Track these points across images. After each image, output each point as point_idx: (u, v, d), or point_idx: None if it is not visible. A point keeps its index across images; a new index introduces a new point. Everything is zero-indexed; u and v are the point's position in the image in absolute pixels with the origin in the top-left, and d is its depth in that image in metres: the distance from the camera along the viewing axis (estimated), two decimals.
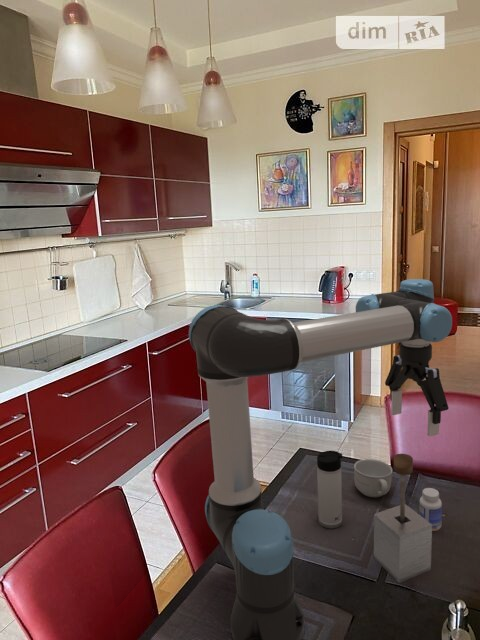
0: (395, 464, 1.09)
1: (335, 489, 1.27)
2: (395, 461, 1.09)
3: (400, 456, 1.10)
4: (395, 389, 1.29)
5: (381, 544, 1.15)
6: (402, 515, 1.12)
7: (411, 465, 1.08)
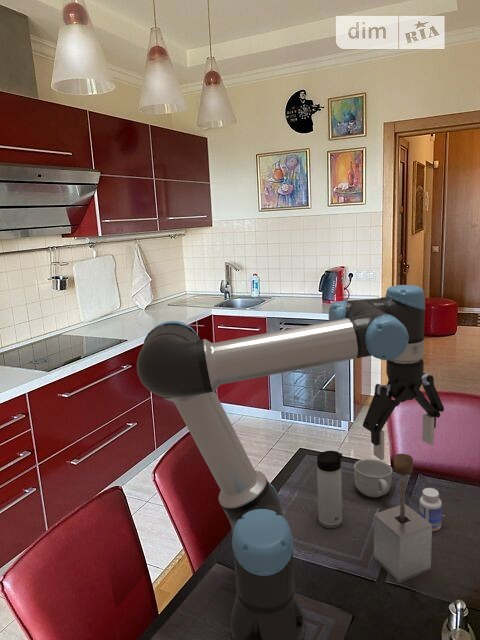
0: (395, 464, 1.09)
1: (335, 489, 1.27)
2: (395, 461, 1.09)
3: (400, 456, 1.10)
4: (429, 413, 1.10)
5: (381, 544, 1.15)
6: (402, 515, 1.12)
7: (411, 465, 1.08)
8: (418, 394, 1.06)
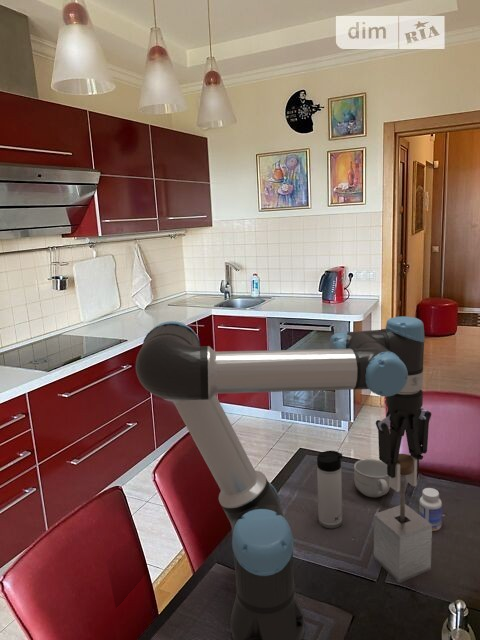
0: None
1: (335, 489, 1.27)
2: None
3: (400, 456, 1.10)
4: (412, 455, 1.11)
5: (381, 544, 1.15)
6: (402, 515, 1.12)
7: (411, 465, 1.08)
8: (414, 426, 1.07)
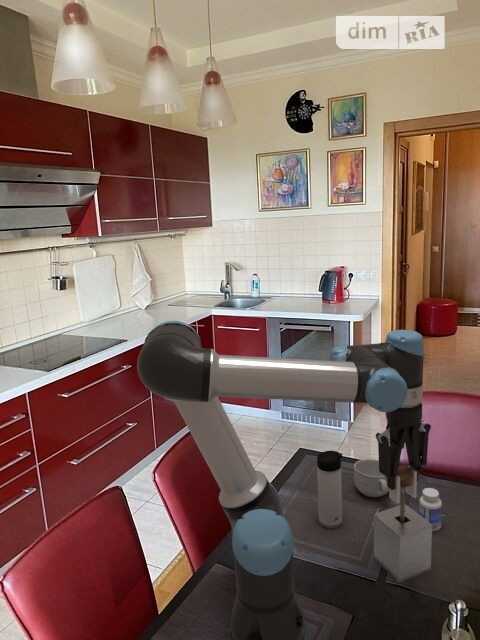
0: None
1: (335, 489, 1.27)
2: None
3: (399, 468, 1.11)
4: (412, 467, 1.11)
5: (381, 544, 1.15)
6: None
7: (411, 477, 1.09)
8: (413, 438, 1.07)
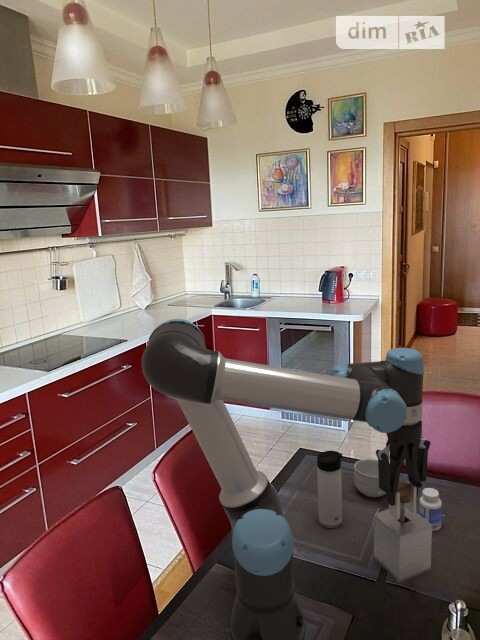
0: None
1: (335, 489, 1.27)
2: None
3: (399, 484, 1.12)
4: (411, 483, 1.12)
5: (381, 544, 1.15)
6: None
7: (410, 493, 1.10)
8: (413, 455, 1.08)
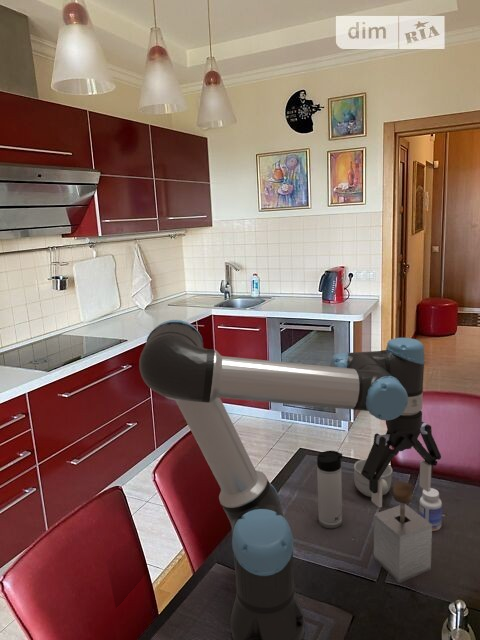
0: (395, 492, 1.11)
1: (335, 489, 1.27)
2: (395, 489, 1.11)
3: (399, 484, 1.12)
4: (426, 461, 1.13)
5: (381, 544, 1.15)
6: None
7: (410, 493, 1.10)
8: (416, 444, 1.08)
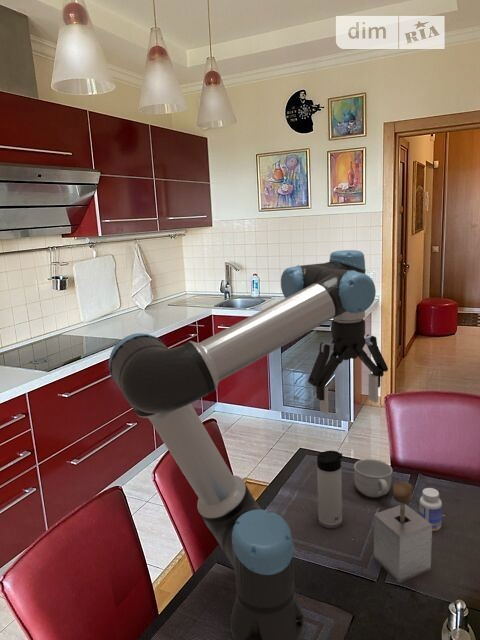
0: (395, 492, 1.11)
1: (335, 489, 1.27)
2: (395, 489, 1.11)
3: (399, 484, 1.12)
4: (374, 373, 1.18)
5: (381, 544, 1.15)
6: None
7: (410, 493, 1.10)
8: (361, 353, 1.13)
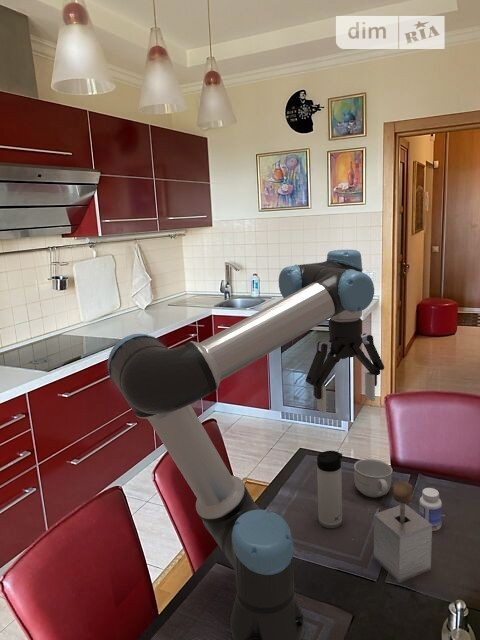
0: (395, 492, 1.11)
1: (335, 489, 1.27)
2: (395, 489, 1.11)
3: (399, 484, 1.12)
4: (370, 372, 1.18)
5: (381, 544, 1.15)
6: None
7: (410, 493, 1.10)
8: (358, 352, 1.13)
